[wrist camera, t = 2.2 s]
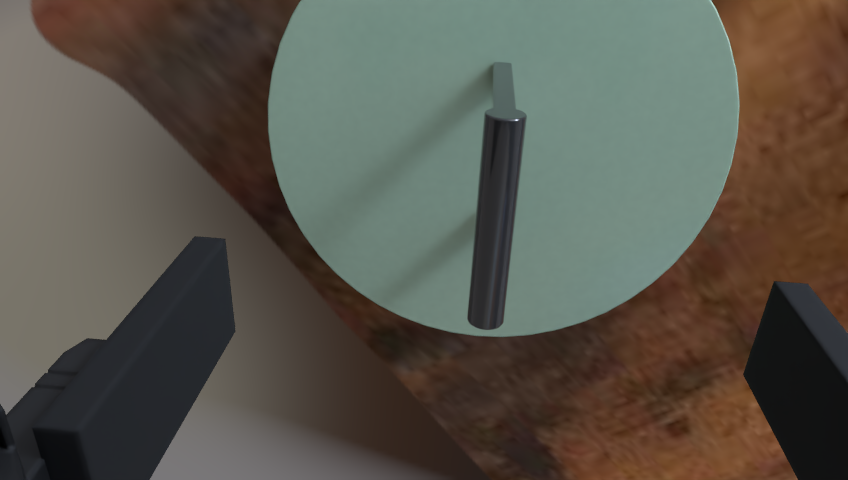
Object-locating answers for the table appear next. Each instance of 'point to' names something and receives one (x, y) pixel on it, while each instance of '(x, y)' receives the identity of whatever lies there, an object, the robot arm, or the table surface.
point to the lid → (502, 150)
